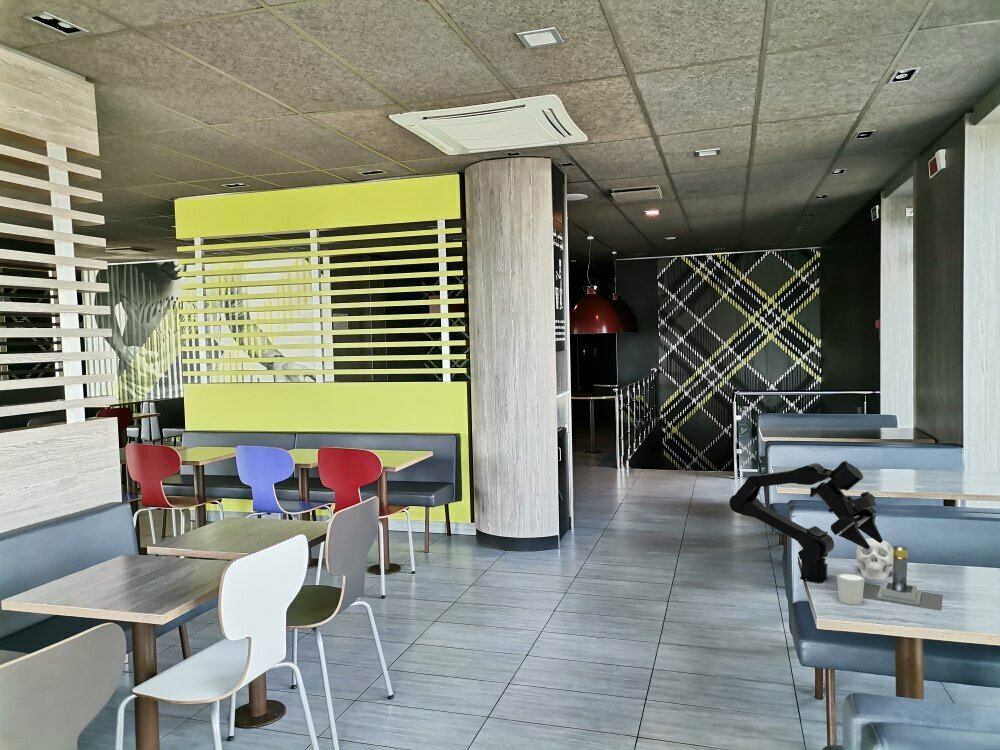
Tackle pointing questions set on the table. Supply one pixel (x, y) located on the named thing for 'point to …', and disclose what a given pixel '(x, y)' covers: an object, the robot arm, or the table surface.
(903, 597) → the silver square tray
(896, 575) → the grey yellow-banded cylinder
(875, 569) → the skull bowl
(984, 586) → the table surface
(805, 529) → the robot arm
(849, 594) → the white cylinder
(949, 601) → the table surface
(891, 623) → the table surface
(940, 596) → the mat
